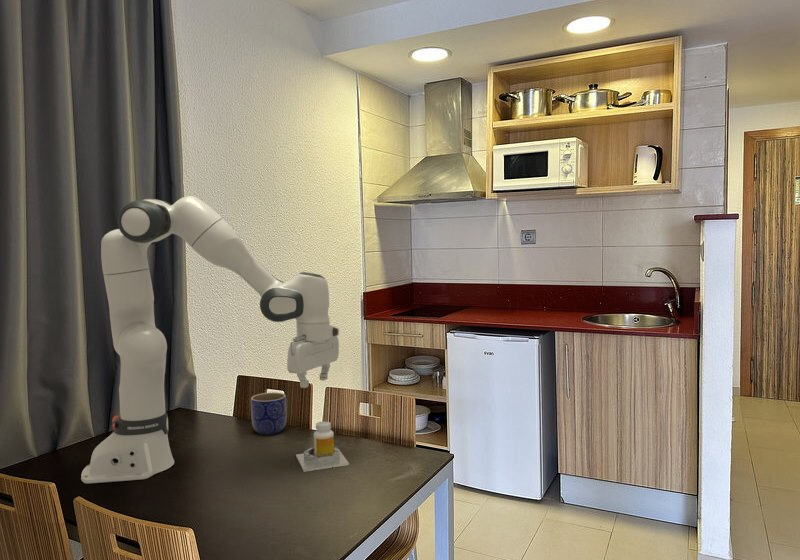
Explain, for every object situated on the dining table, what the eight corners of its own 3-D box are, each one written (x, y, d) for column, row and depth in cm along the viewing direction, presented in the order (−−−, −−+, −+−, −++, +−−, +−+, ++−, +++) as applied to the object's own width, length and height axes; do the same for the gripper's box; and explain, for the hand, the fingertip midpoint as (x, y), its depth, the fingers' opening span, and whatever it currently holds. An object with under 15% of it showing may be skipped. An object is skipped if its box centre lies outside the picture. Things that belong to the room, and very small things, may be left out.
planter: (294, 429, 192) (293, 394, 192) (270, 439, 183) (268, 402, 182) (269, 424, 198) (268, 390, 197) (244, 433, 189) (243, 398, 188)
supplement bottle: (338, 459, 163) (337, 423, 162) (320, 463, 160) (319, 428, 159) (328, 453, 167) (327, 419, 166) (310, 458, 164) (309, 423, 163)
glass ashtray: (303, 471, 156) (303, 462, 156) (296, 456, 167) (295, 447, 167) (348, 465, 160) (348, 455, 160) (338, 450, 171) (338, 441, 171)
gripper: (301, 339, 151) (302, 393, 152) (342, 328, 170) (343, 376, 171) (280, 337, 154) (281, 391, 155) (323, 327, 173) (324, 375, 173)
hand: (314, 383), depth 163 cm, fingers open, 8 cm apart
